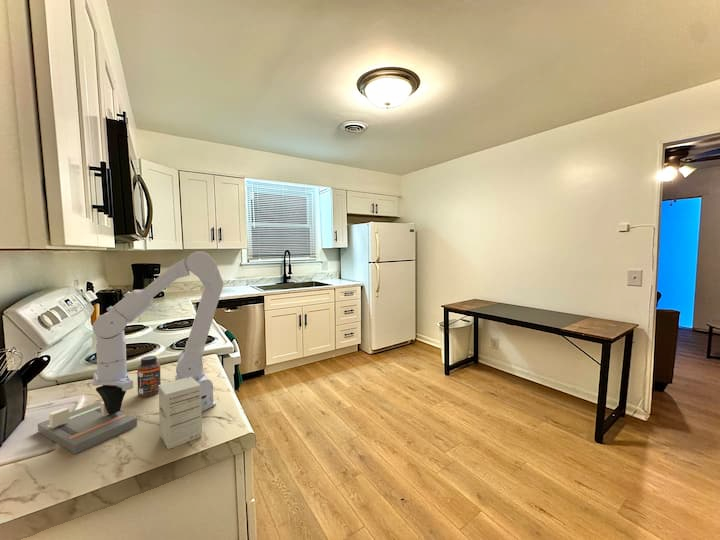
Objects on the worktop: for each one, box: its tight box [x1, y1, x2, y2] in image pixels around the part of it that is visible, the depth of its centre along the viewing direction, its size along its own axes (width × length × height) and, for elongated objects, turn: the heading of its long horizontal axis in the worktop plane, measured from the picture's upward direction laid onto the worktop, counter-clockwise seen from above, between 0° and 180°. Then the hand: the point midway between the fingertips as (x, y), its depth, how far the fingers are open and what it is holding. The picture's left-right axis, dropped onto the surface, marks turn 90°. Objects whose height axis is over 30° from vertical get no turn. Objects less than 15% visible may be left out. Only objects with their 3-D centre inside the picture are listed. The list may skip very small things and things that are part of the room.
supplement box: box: [158, 377, 203, 450], centre depth 70 cm, size 7×7×13 cm
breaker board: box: [37, 401, 138, 455], centre depth 74 cm, size 19×12×2 cm, turn 64°
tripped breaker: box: [100, 401, 109, 416], centre depth 77 cm, size 2×3×3 cm, turn 154°
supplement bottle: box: [136, 355, 162, 398], centre depth 93 cm, size 6×6×11 cm
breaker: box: [48, 407, 70, 428], centre depth 71 cm, size 2×3×3 cm, turn 154°
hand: (114, 412), depth 76 cm, fingers closed
